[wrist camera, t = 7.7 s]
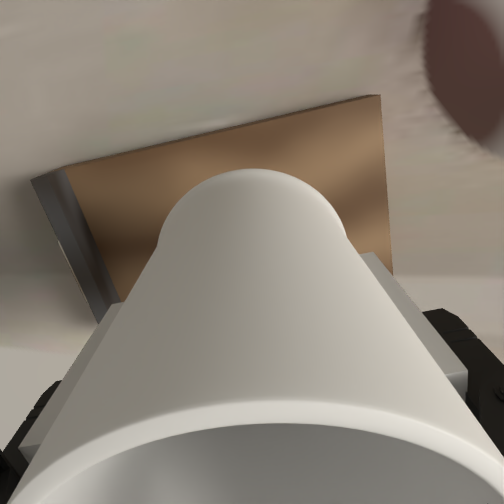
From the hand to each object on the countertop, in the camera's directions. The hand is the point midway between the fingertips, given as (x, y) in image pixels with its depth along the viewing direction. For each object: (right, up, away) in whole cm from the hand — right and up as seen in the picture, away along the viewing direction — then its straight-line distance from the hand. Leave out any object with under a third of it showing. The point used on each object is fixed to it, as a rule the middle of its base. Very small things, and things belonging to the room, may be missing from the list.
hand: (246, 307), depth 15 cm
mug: (-1, +1, +2) cm, 3 cm away
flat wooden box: (-1, +5, +10) cm, 11 cm away
